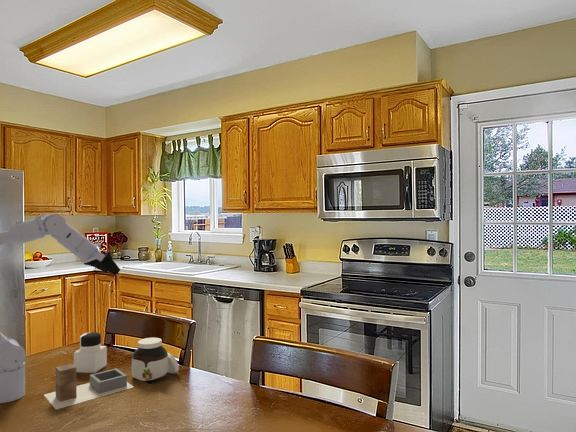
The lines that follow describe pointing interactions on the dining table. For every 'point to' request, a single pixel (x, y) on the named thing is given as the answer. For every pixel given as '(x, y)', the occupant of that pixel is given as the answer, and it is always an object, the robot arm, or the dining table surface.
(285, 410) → the dining table surface
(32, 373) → the dining table surface
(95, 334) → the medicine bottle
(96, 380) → the board
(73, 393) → the rail post
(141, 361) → the spread jar
